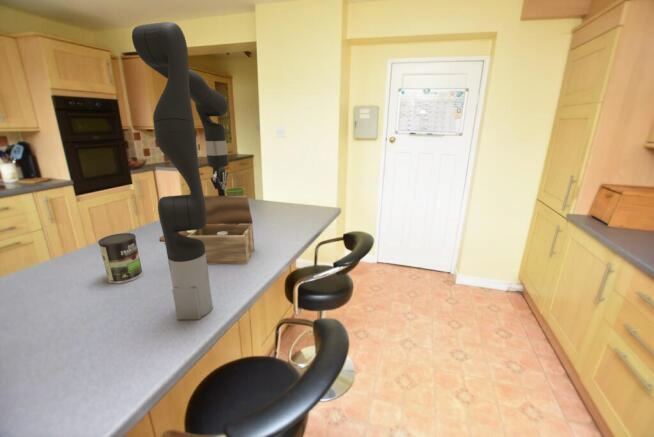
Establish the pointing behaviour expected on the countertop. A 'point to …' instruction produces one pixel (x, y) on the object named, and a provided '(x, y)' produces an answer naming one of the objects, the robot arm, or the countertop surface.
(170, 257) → the robot arm
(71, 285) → the countertop surface
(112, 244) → the coffee can
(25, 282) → the countertop surface
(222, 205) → the lid
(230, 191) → the plant pot
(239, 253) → the wooden box
